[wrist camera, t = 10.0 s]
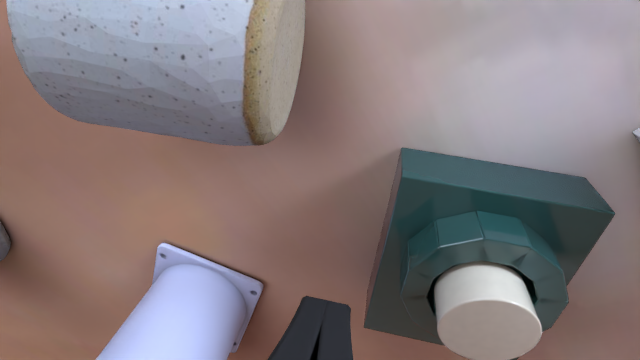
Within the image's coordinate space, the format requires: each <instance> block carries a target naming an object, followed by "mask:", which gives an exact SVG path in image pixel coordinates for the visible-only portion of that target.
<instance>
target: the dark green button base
mask: <svg viewBox="0 0 640 360" xmlns="http://www.w3.org/2000/svg"><path fill="white" fill-rule="evenodd" d="M614 215H615V212H614V211H613V210H612V209H611V207H610V206H609V205H608V204H607V203H606V201H605V200H604V199H603V198H602V197H601V196H600V194H599V193H598V192H597V191H596V190H595V188H594V187H593V186H592V185H591V184H590V183H589V181H588V180H587V179H586V178H584V177H578V176H572V175H566V174H560V173H554V172H548V171H541V170H535V169H529V168H523V167H517V166H511V165H505V164H499V163H493V162H487V161H481V160H475V159H469V158H463V157H457V156H451V155H445V154H438V153H432V152H426V151H420V150H414V149H408V148H401V151H400V155H399V159H398V164H397V168H396V172H395V176H394V180H393V185H392V189H391V193H390V197H389V201H388V206H387V210H386V214H385V218H384V222H383V227H382V231H381V235H380V239H379V243H378V247H377V252H376V256H375V260H374V264H373V268H372V273H371V277H370V281H369V285H368V289H367V298H366V308H365V318H364V328H367V329H372V330H376V331H381V332H385V333H390V334H394V335H399V336H403V337H408V338H412V339H417V340H421V341H426V342H430V343H435V344H439V345H444V344H443V343H442V341H441V340H440V338H439V335H438V332H437V323H436V313H435V303H434V286H435V284H436V282H437V280H438V278H439V277H440V276H441V275H442V274H443V273H444V272H445V271H447V270H448V269H450V268H452V267H454V266H456V265H459V264H465V263H470V262H476V261H488V262H493V263H498V264H502V265H504V266H507V267H509V268H511V269H512V270H514V271H515V272H516V273H518V274H519V275H520V276H521V277H522V279H523V280H524V282H525V284H526V286H527V289H528V292H529V294H530V297H531V299H532V302H533V305H534V307H535V310H536V312H537V315H538V318H539V320H540V323H541V326H542V332H543V331H545V330H547V329H549V328H551V327H552V326H553V324H554V323H555V321H556V320H557V319H558V317H559V316H560V314H561V313H562V311H563V310H564V309H565V307H566V306H567V304H568V303H569V301H568V300H569V298H568V293H567V285H568V284H569V282H570V281H571V279H572V278H573V276H574V275H575V273H576V272H577V270H578V269H579V267H580V266H581V264H582V263H583V261H584V260H585V258H586V257H587V255H588V254H589V253H590V251H591V250H592V248H593V247H594V245H595V244H596V242H597V241H598V239H599V238H600V236H601V235H602V233H603V232H604V230H605V229H606V227H607V226H608V224H609V223H610V221H611V220H612V218H613V217H614ZM444 346H445V345H444ZM518 358H519V357H517V358H514V359H510V360H517V359H518Z"/></svg>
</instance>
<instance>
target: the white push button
mask: <svg viewBox="0 0 640 360" xmlns="http://www.w3.org/2000/svg"><path fill="white" fill-rule="evenodd" d="M434 303H435V313H436V323H437V332H438V335H439V338H440V340H441V341H442V343H443V344H444V345H445V346H446V347H447V348H448V349H450V350H451V351H452V352H454V353H456V354H458V355H460V356H462V357H465V358H468V359H472V360H510V359H514V358H517V357H519V356H522V355H524V354H526V353H527V352H529V351H530V350H532V349H533V348H534V347H535V346H536V345H537V344H538V342H539V340H540V338H541V334H542V326H541V323H540V320H539V318H538V315H537V312H536V310H535V307H534V305H533V302H532V299H531V297H530V294H529V292H528V289H527V286H526V284H525V282H524V280H523V279H522V277H521V276H520V275H519V274H518V273H516V272H515V271H514V270H512V269H511V268H509V267H507V266H504V265H502V264H498V263H493V262H488V261H476V262H470V263H465V264H459V265H456V266H454V267H452V268H450V269H448V270H447V271H445V272H444V273H443V274H442V275H441V276H440V277H439V278H438V280H437V282H436V284H435V286H434Z"/></svg>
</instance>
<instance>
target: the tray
mask: <svg viewBox="0 0 640 360" xmlns="http://www.w3.org/2000/svg"><path fill="white" fill-rule="evenodd" d="M633 134H634V135H635V137H636V138H637V140H638V141H639V142H640V128H639V129H637V130H635V131H633Z"/></svg>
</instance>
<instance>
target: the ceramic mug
mask: <svg viewBox="0 0 640 360" xmlns="http://www.w3.org/2000/svg"><path fill="white" fill-rule="evenodd" d="M7 13H8V22H9V26H10V29H11V31H12V42H13V45H14V48H15V52H16V54H17V56H18V59H19V61H20V63H21V66H22V68H23V70H24V72H25V74H26V75H27V77H28V78H29V80H30V81H31V83H32V85H33V87H34V88H35V90H36V91H37V92H38V93H39V94H40V96H41V97H42V98H43V99H44V100H45V101H46V102H47V103H48V104H49V105H51V106H52V107H53V108H54V109H56V110H57V111H58V112H60V113H62V114H64V115H66V116H67V117H70V118H72V119H75V120H77V121H81V122H85V123H91V124H97V125H104V126H112V127H118V128H124V129H130V130H137V131H142V132H149V133H154V134H160V135H168V136H175V137H182V138H187V139H193V140H198V141H203V142H209V143H215V144H222V145H233V146H251V145H264V144H267V143H269V142H271V141H272V140H274V139H275V138H276V137H277V136H278V135H279V134H280V133H281V131H282V129H283V128H284V126H285V124H286V121H287V119H288V116H289V113H290V110H291V107H292V103H293V99H294V95H295V91H296V86H297V82H298V77H299V71H300V65H301V59H302V50H303V42H304V29H305V0H7Z"/></svg>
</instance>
